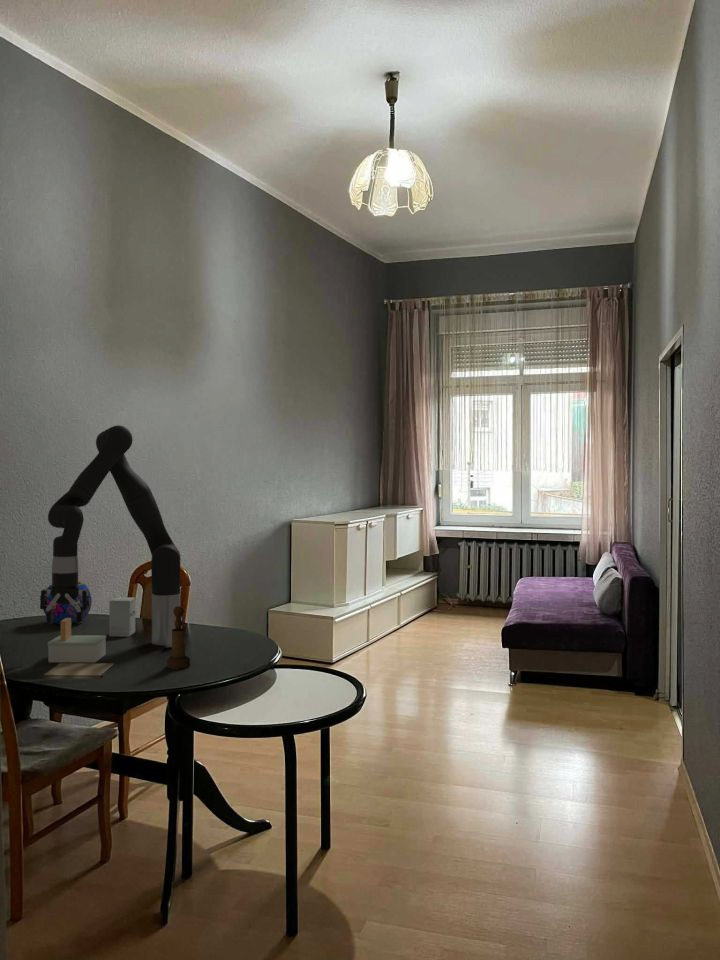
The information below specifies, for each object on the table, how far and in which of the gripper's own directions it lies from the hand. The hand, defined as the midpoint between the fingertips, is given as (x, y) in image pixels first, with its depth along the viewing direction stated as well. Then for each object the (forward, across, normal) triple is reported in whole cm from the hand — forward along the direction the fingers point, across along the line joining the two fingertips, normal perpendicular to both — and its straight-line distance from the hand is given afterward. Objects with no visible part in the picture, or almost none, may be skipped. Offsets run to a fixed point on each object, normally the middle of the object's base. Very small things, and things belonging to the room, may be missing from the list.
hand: (64, 623), depth 248 cm
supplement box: (+12, -7, -38) cm, 40 cm away
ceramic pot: (+12, +20, -56) cm, 61 cm away
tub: (+12, -4, 0) cm, 12 cm away
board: (+11, -9, +13) cm, 20 cm away
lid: (+6, -4, 0) cm, 7 cm away
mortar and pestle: (+11, -36, +6) cm, 38 cm away
